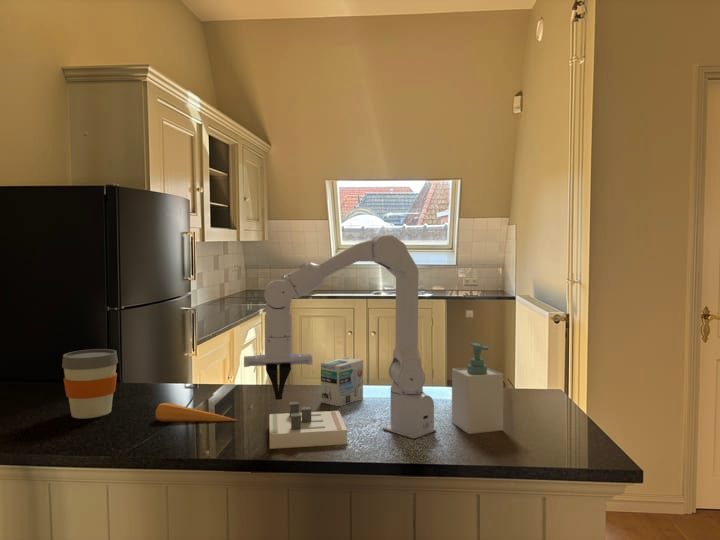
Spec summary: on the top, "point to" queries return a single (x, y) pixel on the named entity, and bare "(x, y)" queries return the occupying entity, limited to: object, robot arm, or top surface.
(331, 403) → the light bulb box
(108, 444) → the top surface
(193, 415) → the carrot
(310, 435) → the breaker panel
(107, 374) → the reusable coffee cup
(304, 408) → the block
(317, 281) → the robot arm
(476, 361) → the soap bottle
